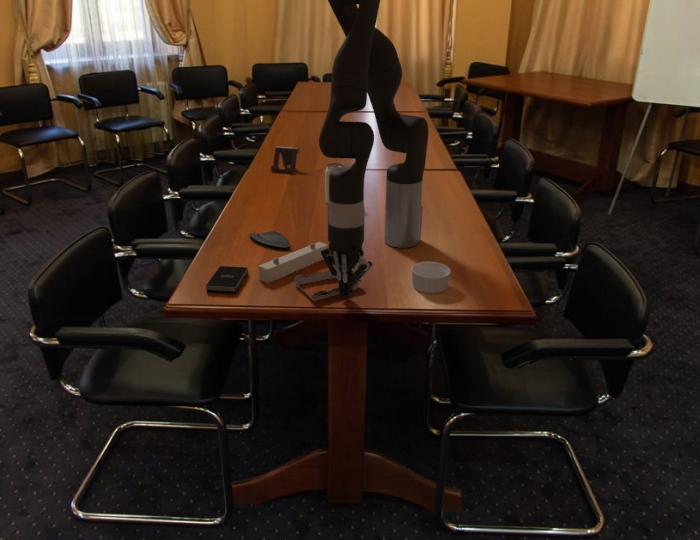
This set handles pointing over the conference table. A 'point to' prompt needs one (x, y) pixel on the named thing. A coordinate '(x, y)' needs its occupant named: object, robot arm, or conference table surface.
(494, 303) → the conference table surface
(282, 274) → the grey toothed bar
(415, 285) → the ramekin
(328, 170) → the can
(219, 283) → the external hard drive
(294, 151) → the portable electronic device stand
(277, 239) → the fan shaped piece
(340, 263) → the robot arm
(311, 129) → the conference table surface
